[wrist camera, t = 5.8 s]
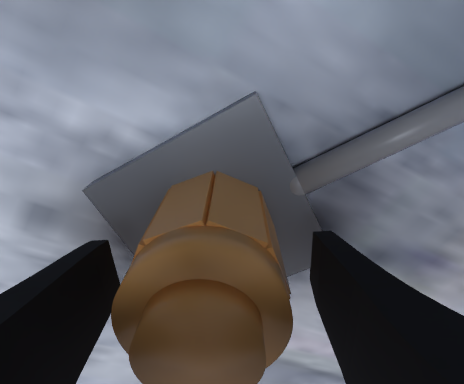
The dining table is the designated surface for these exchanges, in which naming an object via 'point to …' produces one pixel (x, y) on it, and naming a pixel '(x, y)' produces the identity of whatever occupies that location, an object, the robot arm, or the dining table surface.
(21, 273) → the dining table surface
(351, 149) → the gray square paddle
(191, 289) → the wire nut
